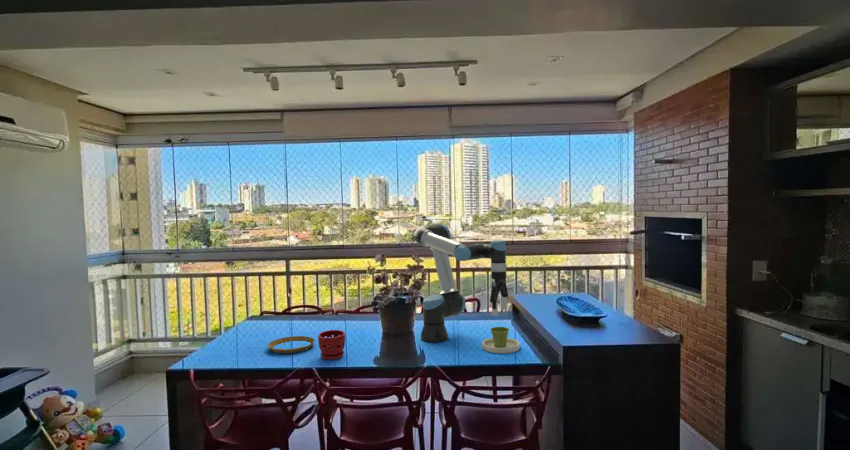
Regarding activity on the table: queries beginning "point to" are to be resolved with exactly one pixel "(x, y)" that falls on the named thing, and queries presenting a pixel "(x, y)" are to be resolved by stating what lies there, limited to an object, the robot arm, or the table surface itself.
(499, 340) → the plant pot
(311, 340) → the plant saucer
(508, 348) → the saucer
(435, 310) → the robot arm
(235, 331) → the table surface
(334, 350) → the plant pot
